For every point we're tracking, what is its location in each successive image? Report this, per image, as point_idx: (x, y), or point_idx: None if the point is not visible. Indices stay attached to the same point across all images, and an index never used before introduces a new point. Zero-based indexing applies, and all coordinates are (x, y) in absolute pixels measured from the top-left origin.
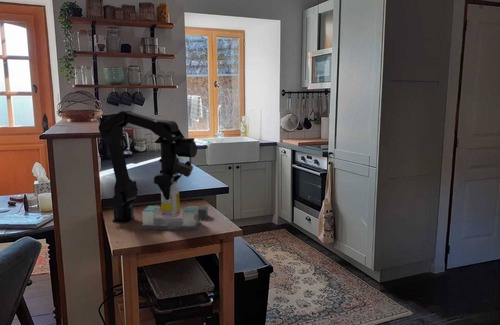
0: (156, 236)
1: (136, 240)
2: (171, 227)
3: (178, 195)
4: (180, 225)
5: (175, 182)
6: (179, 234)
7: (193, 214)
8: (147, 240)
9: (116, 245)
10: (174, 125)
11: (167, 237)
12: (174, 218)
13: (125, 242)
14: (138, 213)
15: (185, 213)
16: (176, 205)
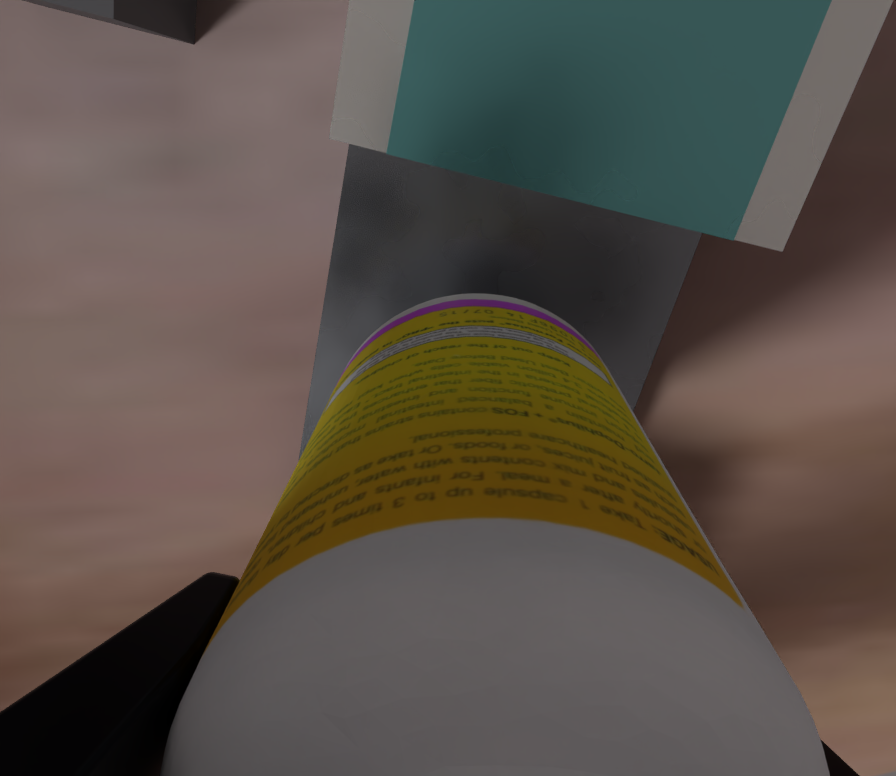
0: (785, 501)
1: (823, 652)
2: (640, 368)
3: (605, 488)
4: (654, 255)
5: None
6: (820, 257)
7: (874, 3)
8: (866, 571)
9: (875, 767)
10: None
11: (865, 393)
12: (328, 343)
13: (835, 720)
14: (19, 692)
15: (798, 193)
16: (633, 418)
